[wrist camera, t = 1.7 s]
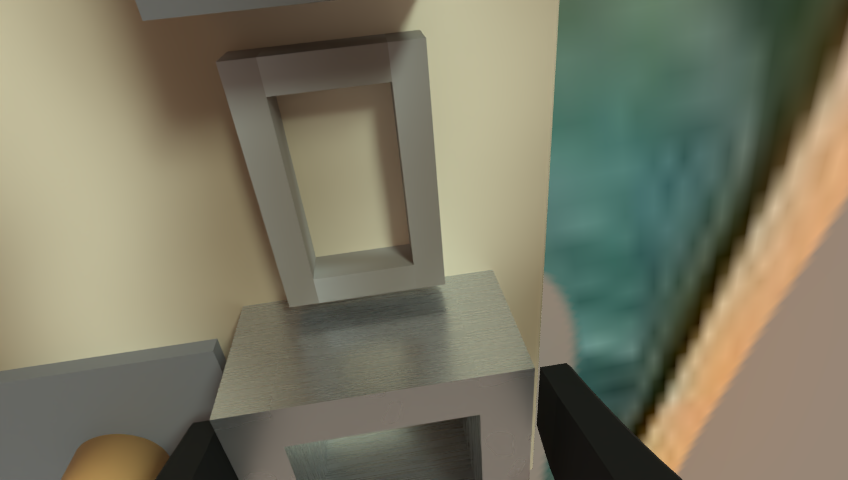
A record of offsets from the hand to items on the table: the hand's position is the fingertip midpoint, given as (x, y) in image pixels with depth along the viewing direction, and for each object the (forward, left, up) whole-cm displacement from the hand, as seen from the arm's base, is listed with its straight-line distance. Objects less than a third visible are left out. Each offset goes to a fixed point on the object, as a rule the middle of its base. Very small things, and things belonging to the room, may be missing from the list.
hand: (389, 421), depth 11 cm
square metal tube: (0, 0, -1) cm, 1 cm away
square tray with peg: (-7, -1, -1) cm, 7 cm away
